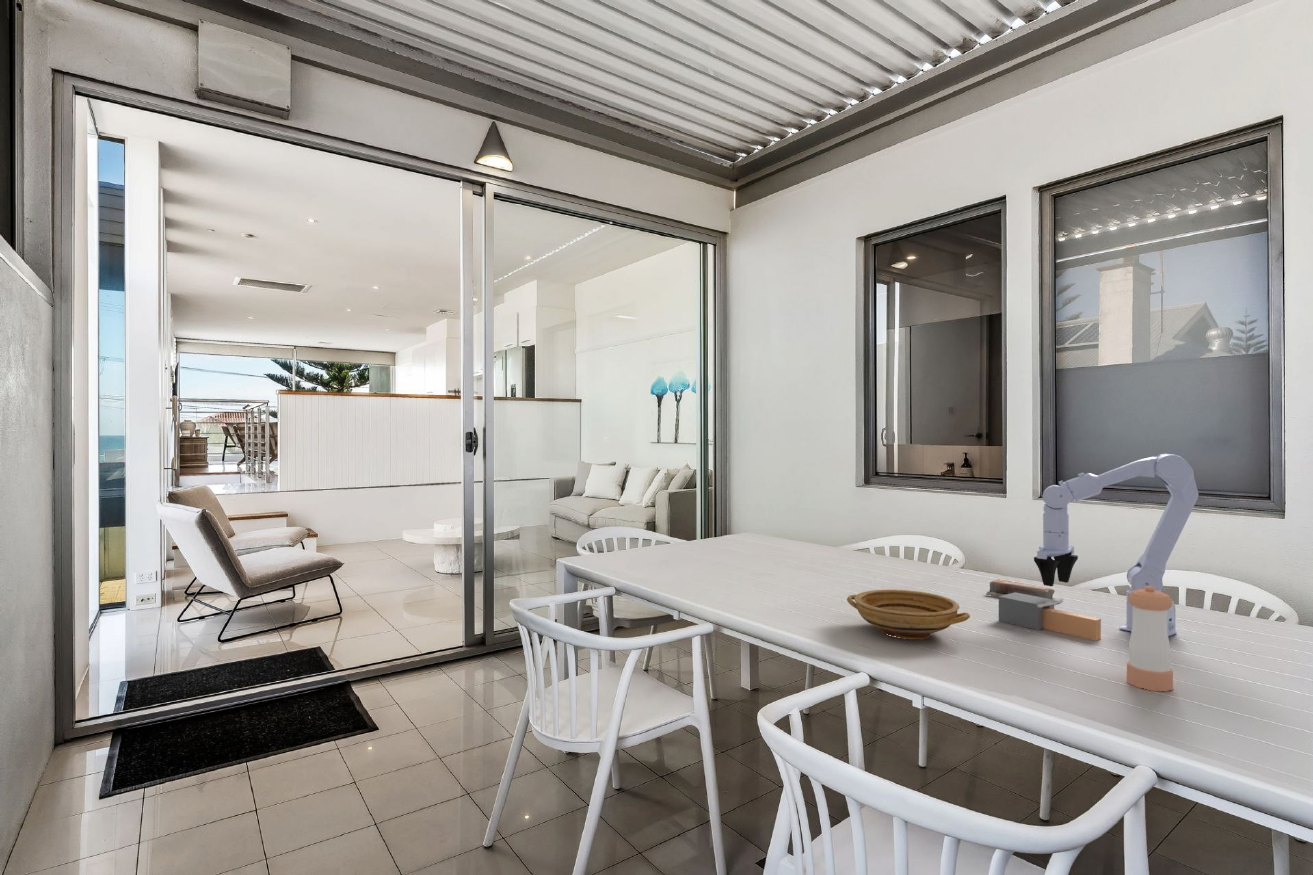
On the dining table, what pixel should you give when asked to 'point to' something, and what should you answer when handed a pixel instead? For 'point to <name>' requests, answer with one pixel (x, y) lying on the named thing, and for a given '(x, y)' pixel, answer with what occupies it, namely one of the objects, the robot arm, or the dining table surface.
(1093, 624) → the orange rectangular bar
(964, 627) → the dining table surface
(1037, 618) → the grey plain boxy block
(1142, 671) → the salt shaker
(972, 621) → the dining table surface
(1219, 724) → the dining table surface
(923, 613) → the ceramic bowl
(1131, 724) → the dining table surface
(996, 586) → the packaged product
